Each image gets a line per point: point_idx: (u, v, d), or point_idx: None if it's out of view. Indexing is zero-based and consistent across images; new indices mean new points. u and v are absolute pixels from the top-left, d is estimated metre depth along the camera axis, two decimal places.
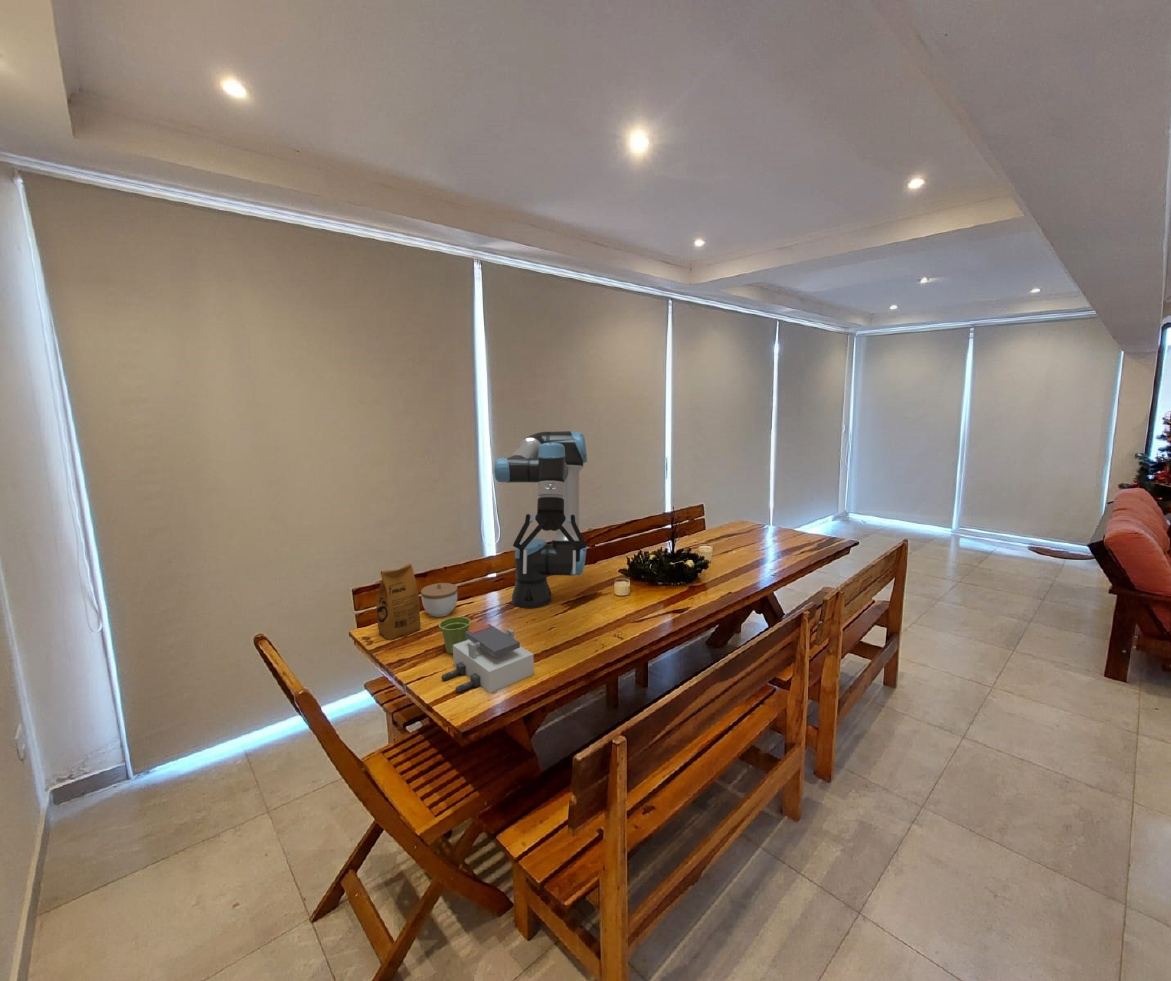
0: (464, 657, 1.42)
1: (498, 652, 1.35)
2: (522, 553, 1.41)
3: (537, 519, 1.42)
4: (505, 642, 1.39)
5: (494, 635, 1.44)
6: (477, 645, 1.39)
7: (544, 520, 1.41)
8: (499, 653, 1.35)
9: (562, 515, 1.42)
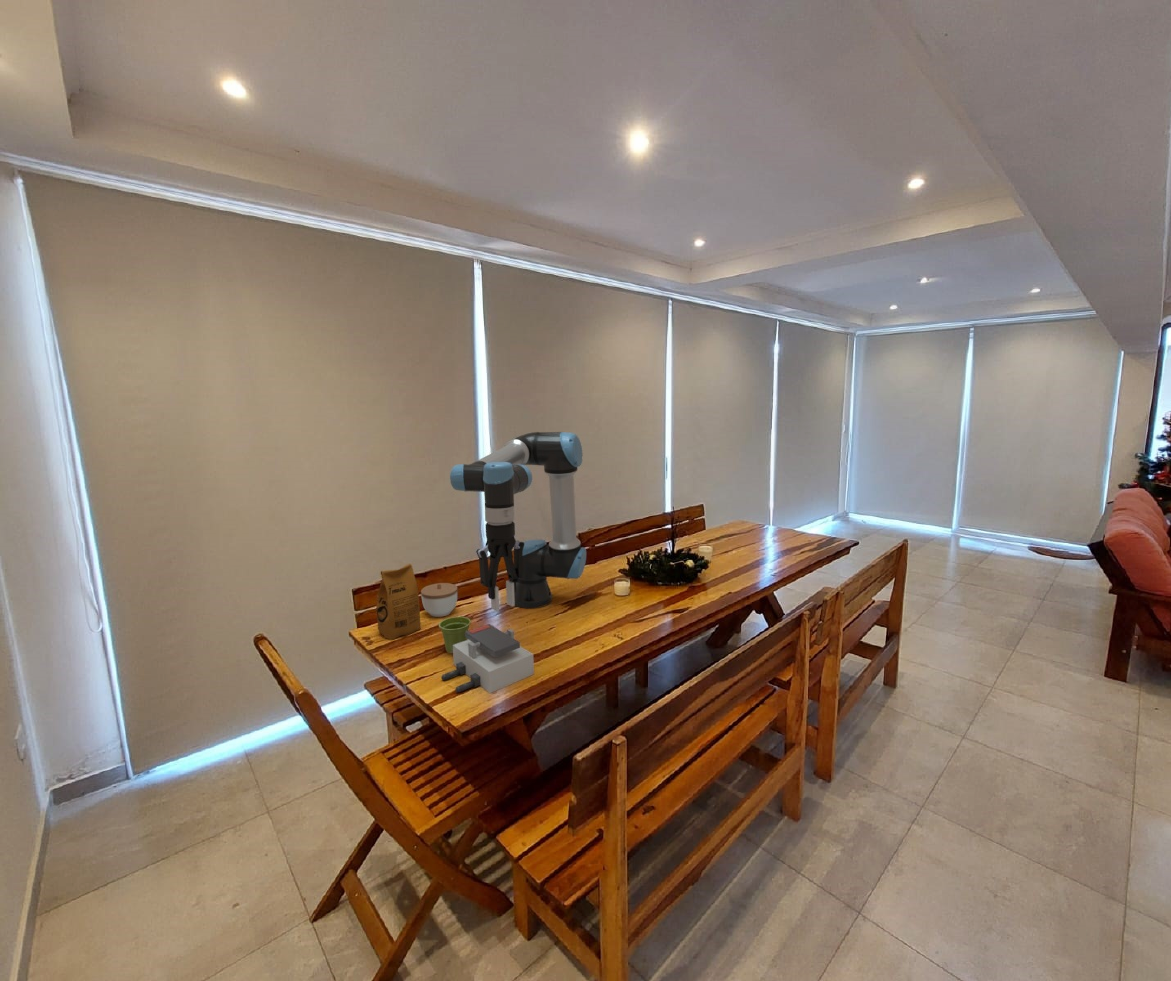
0: (464, 657, 1.42)
1: (498, 652, 1.35)
2: (493, 591, 1.33)
3: (492, 549, 1.30)
4: (505, 642, 1.39)
5: (494, 635, 1.44)
6: (477, 645, 1.39)
7: (500, 549, 1.31)
8: (499, 653, 1.35)
9: (513, 539, 1.35)
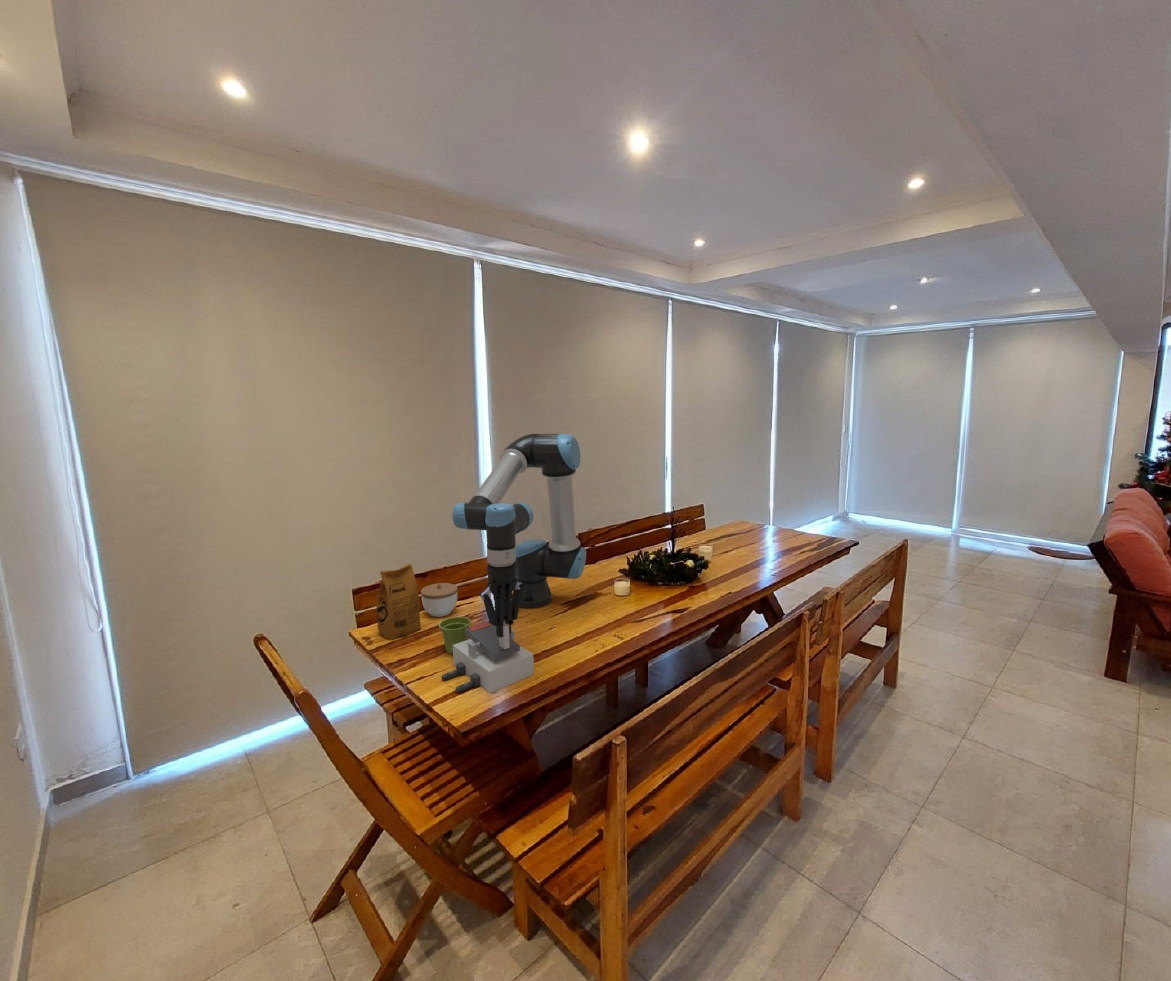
0: (464, 657, 1.42)
1: (498, 655, 1.35)
2: (501, 629, 1.36)
3: (494, 590, 1.32)
4: None
5: (495, 635, 1.43)
6: (477, 645, 1.39)
7: (502, 590, 1.33)
8: (499, 656, 1.36)
9: (515, 579, 1.36)
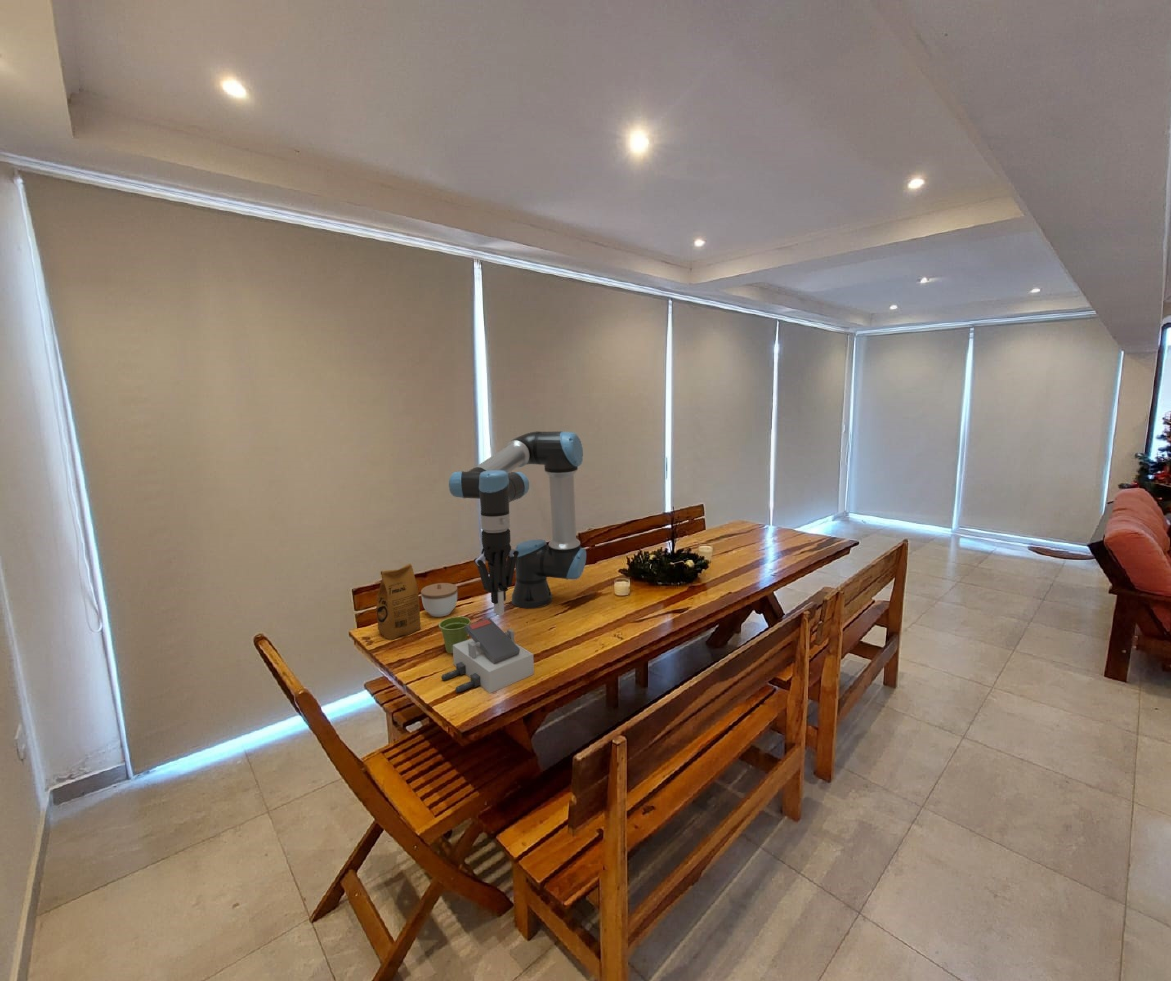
0: (464, 657, 1.42)
1: (498, 659, 1.36)
2: (496, 596, 1.36)
3: (488, 556, 1.33)
4: (505, 647, 1.40)
5: (495, 636, 1.43)
6: (477, 645, 1.39)
7: (496, 556, 1.33)
8: (499, 659, 1.36)
9: (509, 546, 1.37)
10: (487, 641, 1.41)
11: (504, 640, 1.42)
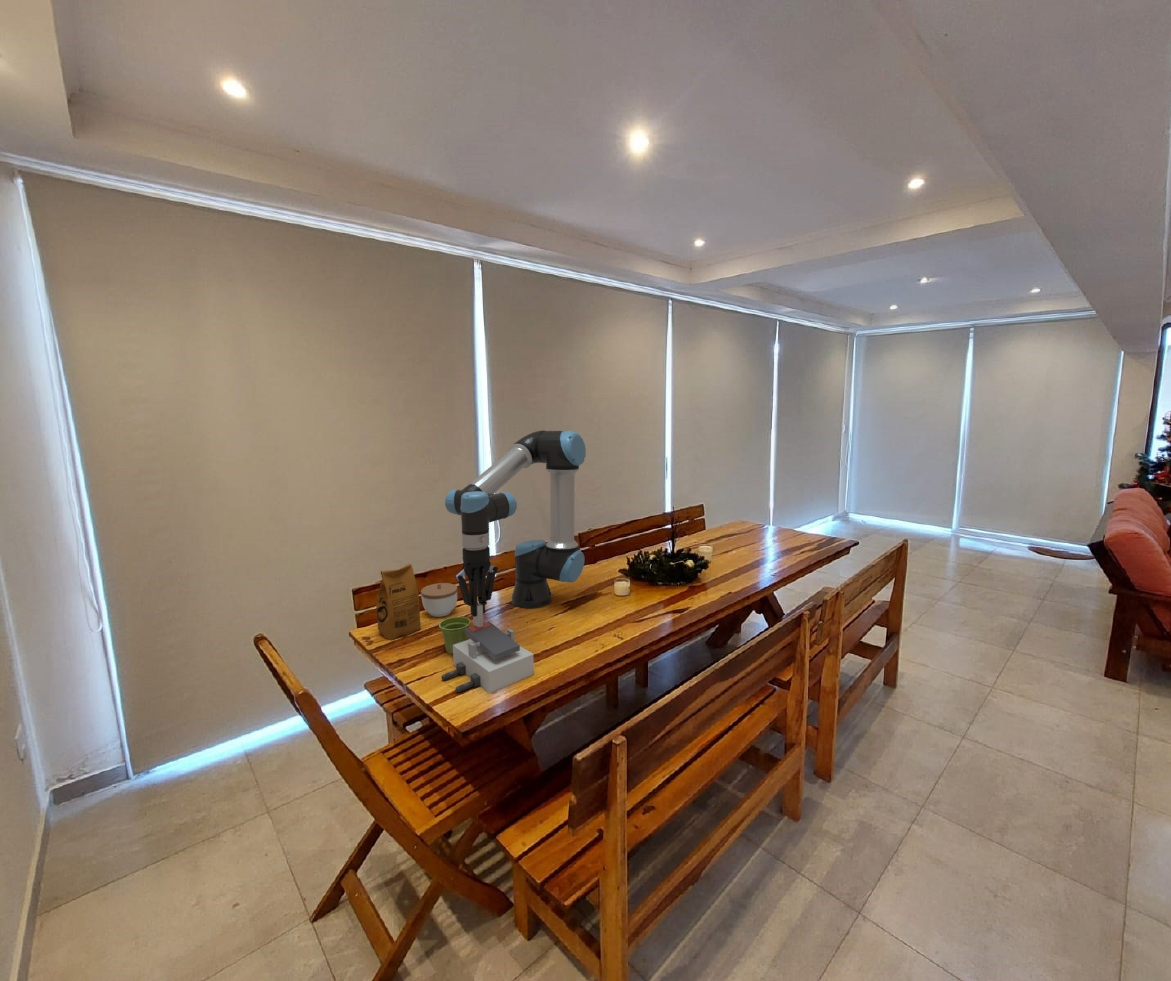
0: (464, 657, 1.42)
1: (498, 655, 1.35)
2: (475, 609, 1.45)
3: (468, 572, 1.42)
4: (505, 644, 1.39)
5: (494, 635, 1.43)
6: (477, 645, 1.39)
7: (475, 572, 1.42)
8: (499, 656, 1.36)
9: (488, 562, 1.46)
10: (487, 640, 1.41)
11: (504, 639, 1.42)
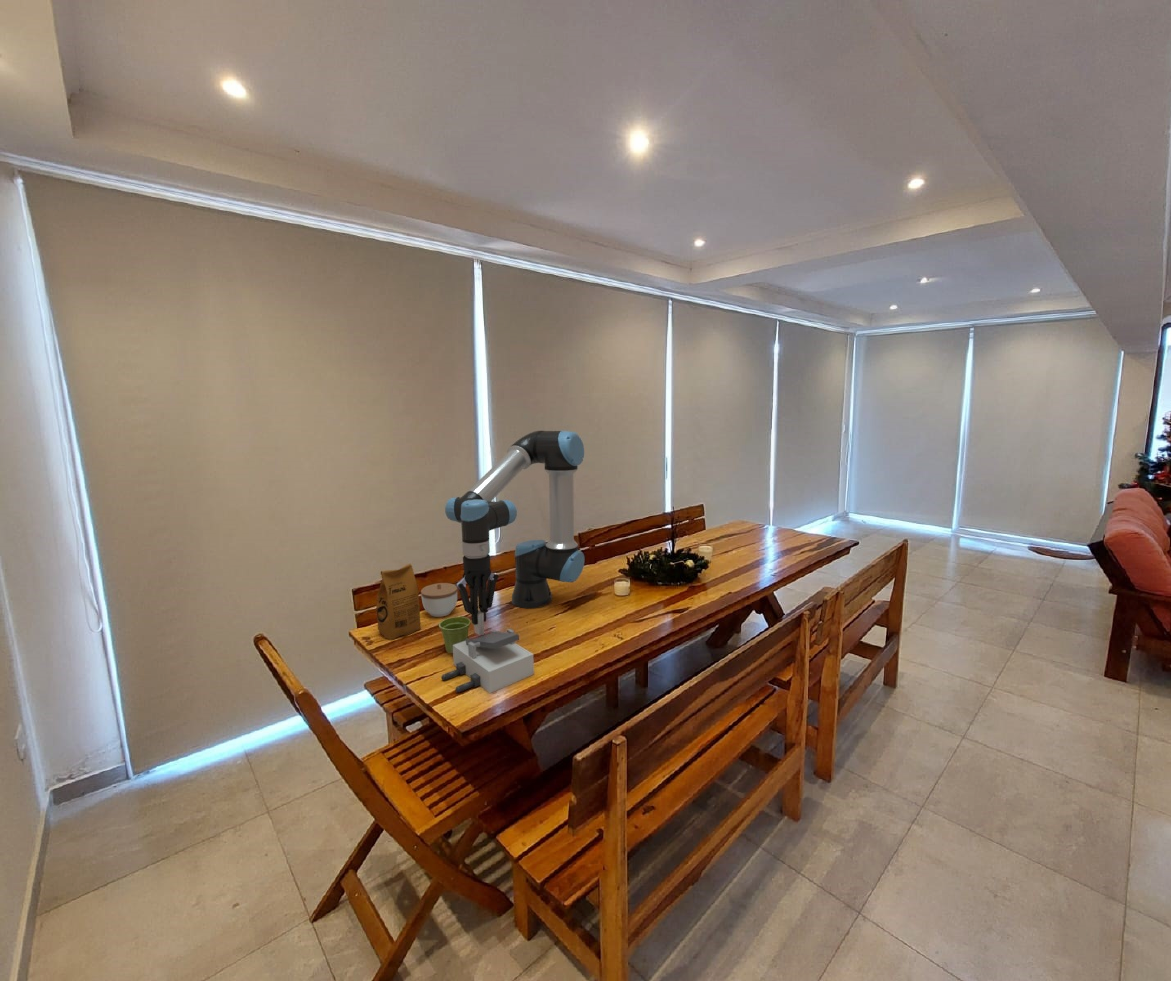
0: (464, 657, 1.42)
1: (497, 644, 1.35)
2: (476, 617, 1.46)
3: (469, 580, 1.42)
4: (503, 636, 1.39)
5: (494, 635, 1.44)
6: (477, 644, 1.39)
7: (476, 580, 1.43)
8: (498, 644, 1.35)
9: (489, 570, 1.46)
10: (486, 639, 1.41)
11: (503, 634, 1.42)
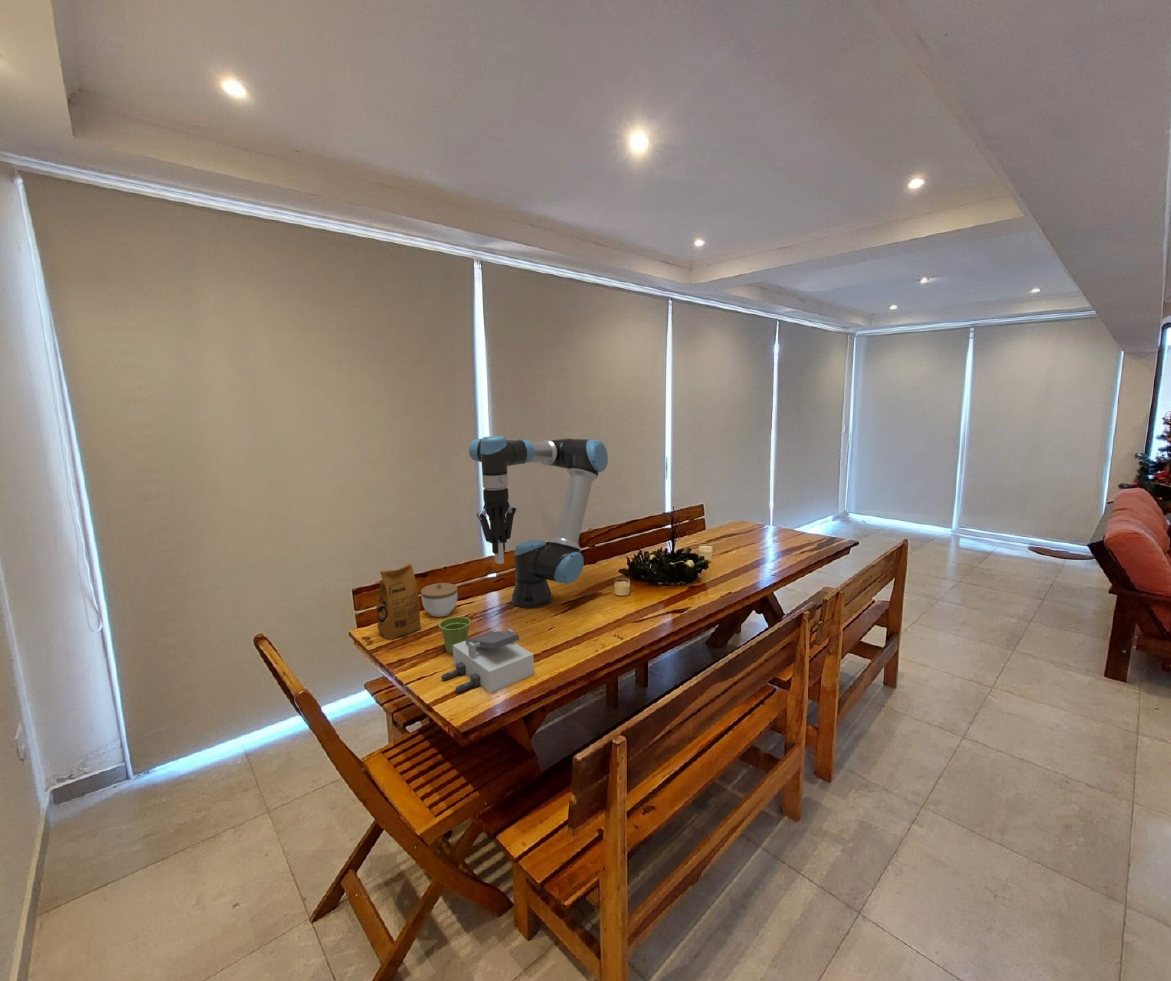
0: (464, 657, 1.42)
1: (497, 644, 1.35)
2: (496, 546, 1.56)
3: (489, 511, 1.52)
4: (504, 636, 1.39)
5: (494, 635, 1.44)
6: (477, 644, 1.39)
7: (496, 511, 1.52)
8: (498, 644, 1.35)
9: (507, 503, 1.56)
10: (486, 639, 1.41)
11: (503, 634, 1.42)
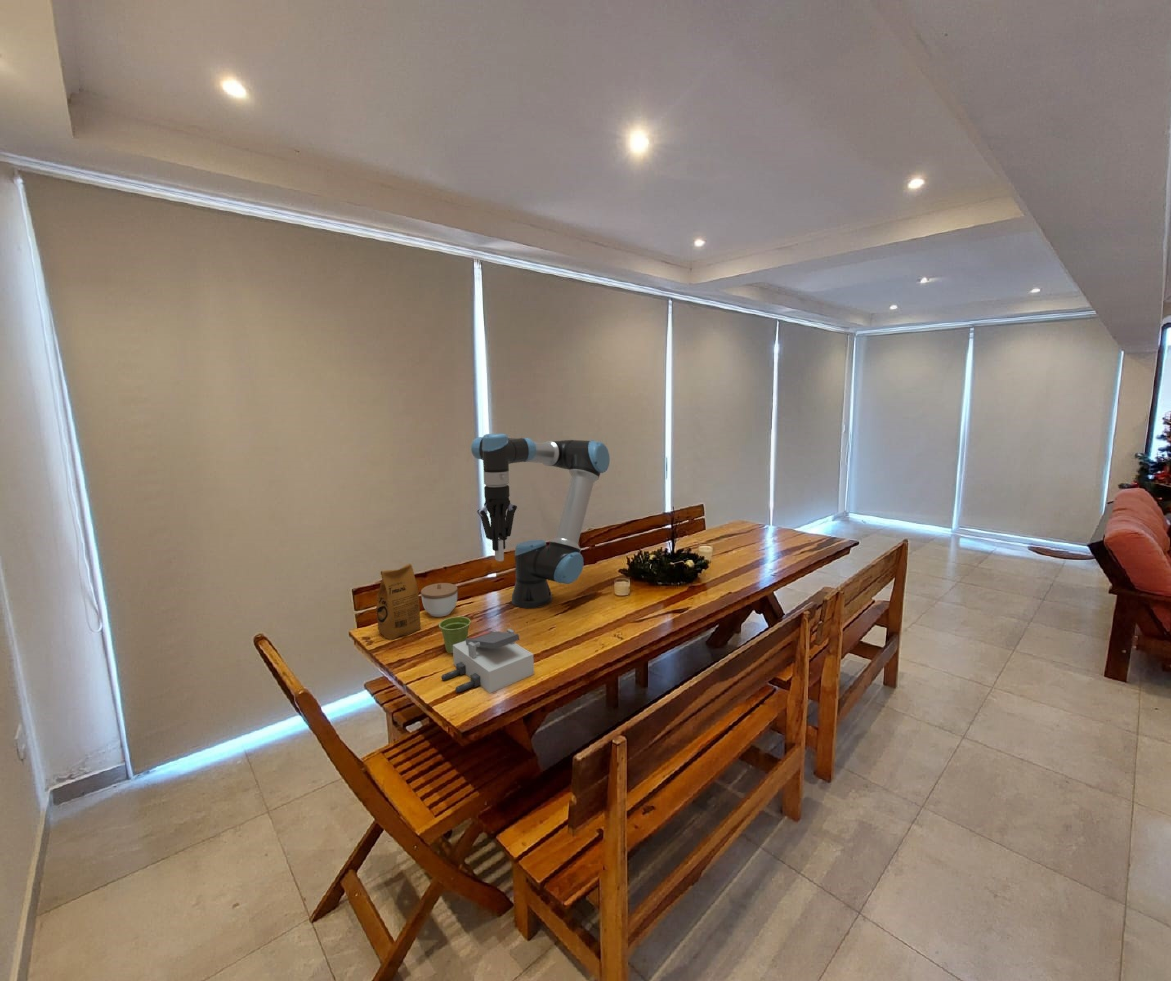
0: (464, 657, 1.42)
1: (497, 644, 1.35)
2: (497, 544, 1.56)
3: (490, 508, 1.52)
4: (504, 636, 1.39)
5: (494, 635, 1.44)
6: (477, 644, 1.39)
7: (497, 508, 1.53)
8: (498, 644, 1.35)
9: (508, 500, 1.56)
10: (486, 639, 1.41)
11: (503, 634, 1.42)
